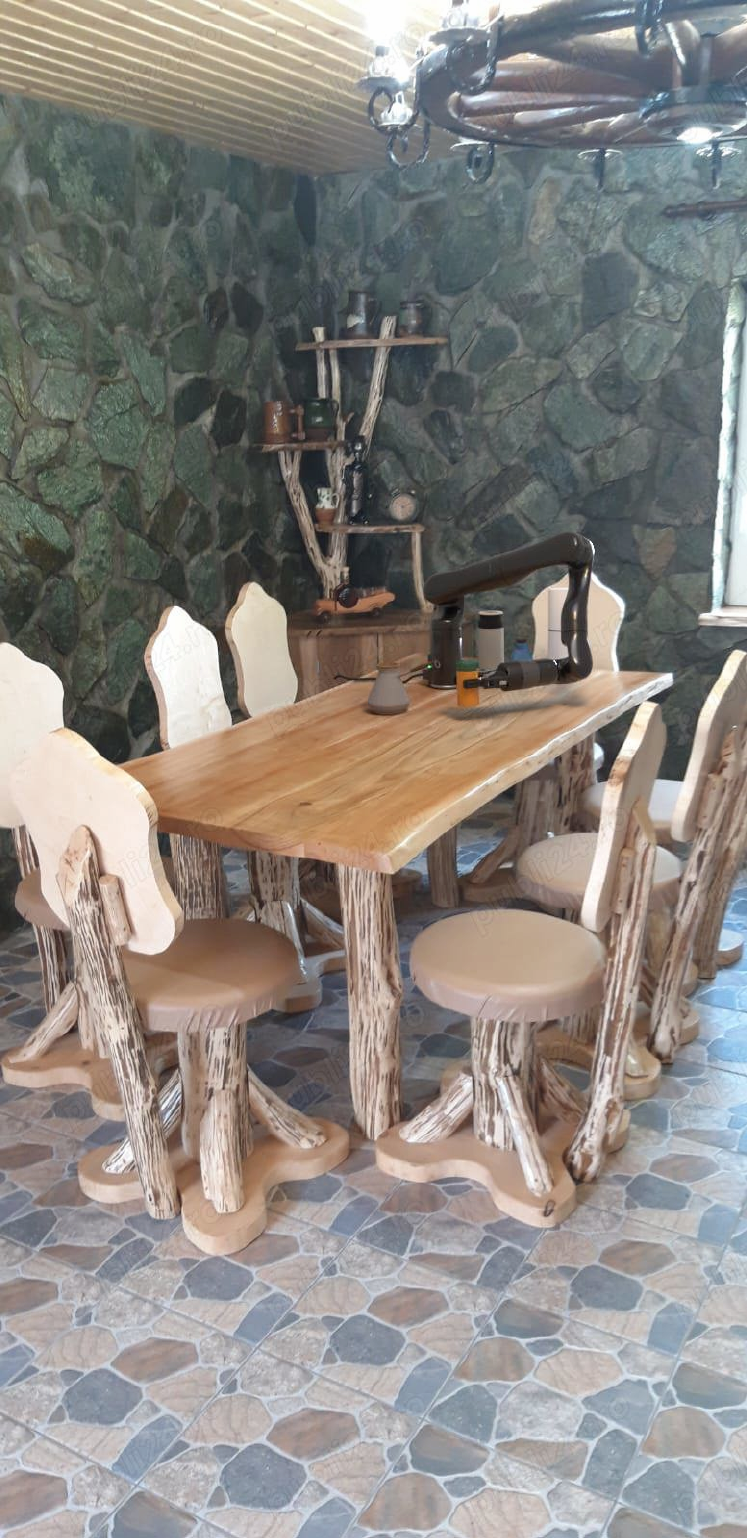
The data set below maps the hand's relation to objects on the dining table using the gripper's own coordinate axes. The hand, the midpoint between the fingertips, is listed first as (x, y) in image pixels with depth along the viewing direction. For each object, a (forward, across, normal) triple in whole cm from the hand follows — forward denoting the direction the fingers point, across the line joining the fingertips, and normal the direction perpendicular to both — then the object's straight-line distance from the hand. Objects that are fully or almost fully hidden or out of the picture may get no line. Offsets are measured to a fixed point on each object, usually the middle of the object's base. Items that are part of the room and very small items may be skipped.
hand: (458, 682), depth 298 cm
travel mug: (-39, -63, +11) cm, 75 cm away
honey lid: (-2, 0, -5) cm, 5 cm away
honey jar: (-2, 0, +6) cm, 6 cm away
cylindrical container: (-57, -52, +11) cm, 78 cm away
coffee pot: (+9, -16, +10) cm, 21 cm away
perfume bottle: (-41, -45, +11) cm, 62 cm away
